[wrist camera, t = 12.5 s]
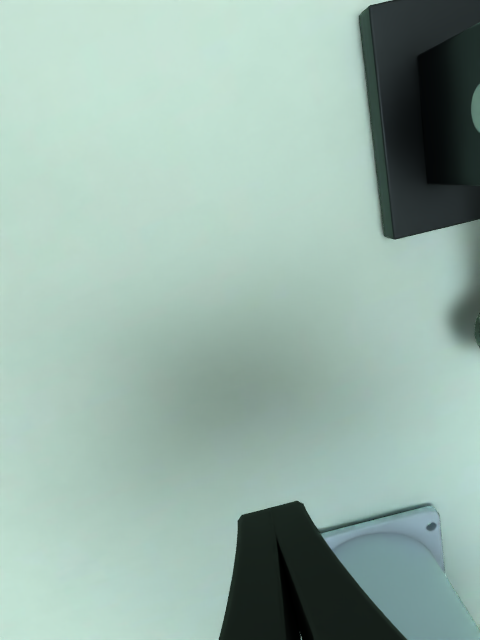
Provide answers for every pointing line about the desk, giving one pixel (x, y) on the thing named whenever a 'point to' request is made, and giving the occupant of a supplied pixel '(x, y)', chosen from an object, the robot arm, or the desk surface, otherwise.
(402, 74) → the bracket
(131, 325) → the desk surface
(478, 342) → the lever
